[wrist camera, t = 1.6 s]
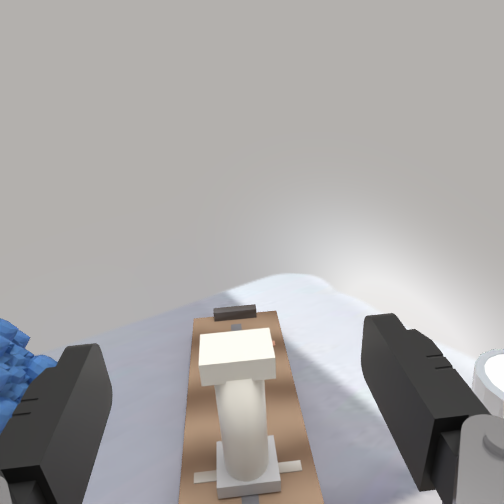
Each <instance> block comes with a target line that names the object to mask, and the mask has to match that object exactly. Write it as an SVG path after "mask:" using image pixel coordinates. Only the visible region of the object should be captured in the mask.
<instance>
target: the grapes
mask: <svg viewBox="0 0 504 504" xmlns="http://www.w3.org/2000/svg"><path fill="white" fill-rule="evenodd" d="M29 339H30V337H29V336H27V335H26V334H24V333H23V332H22V331H20V330H18V328H17V327H15V326H14V325H12V324H11V323H10V322H8V321H6V320H3V319H1V318H0V434H1V432H2V431H3V429H4V427H5V426H6V424H7V422H8V420H9V419H10V418H12V414H13V412H14V410H15V408H16V407H17V405H18V404H19V403H20V402H21V398H22V397H23V395H24V393H25V391H26V390H27V388H28V386H29V385H30V383H31V382H32V381H33V380H34V379H35V378H36V377H37V376H39V375H40V374H41V373H42V372H43V371H44V370H45V369H46V368H49V367H56V365H57V363H58V362H56V361H55V360H54V359H52V358H51V357H48V356H45V355H38V356H34V354H32V353H31V352H29V351H27V350H26V349H25V347H26V345H27V343H28V341H29Z"/></svg>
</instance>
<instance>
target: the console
mask: <svg viewBox="0 0 504 504" xmlns="http://www.w3.org/2000/svg"><path fill="white" fill-rule="evenodd" d="M260 328H269V329H270V334H271V339H272V344H273V349H274V354H275V362H276V379H266V380H264V382H265V400H266V418H267V436H270V435H274V442H275V448H276V454H277V461H278V467H279V473H280V480H281V491H279V492H271V493H263V494H254V495H246V496H238V497H230V498H222V499H218V493H217V442H218V441H222V439H221V431H220V424H219V416H218V409H217V402H216V394H215V387H214V385H210V386H202V385H201V378H200V372H199V347H200V334H210V333H220V332H230V331H240V330H250V329H260ZM179 504H324V501H323V497H322V493H321V489H320V485H319V481H318V477H317V473H316V469H315V465H314V461H313V457H312V453H311V449H310V445H309V441H308V437H307V433H306V429H305V425H304V421H303V417H302V413H301V409H300V405H299V401H298V397H297V392H296V388H295V384H294V380H293V376H292V372H291V368H290V364H289V360H288V356H287V352H286V348H285V344H284V340H283V336H282V332H281V328H280V324H279V320H278V316H277V312H276V311H268V312H258V313H256V306H255V305H244V306H234V307H224V308H214V317H207V318H196V319H194V323H193V335H192V347H191V359H190V371H189V383H188V395H187V407H186V419H185V431H184V444H183V456H182V468H181V480H180V492H179Z"/></svg>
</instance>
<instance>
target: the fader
mask: <svg viewBox="0 0 504 504" xmlns="http://www.w3.org/2000/svg"><path fill="white" fill-rule="evenodd" d="M199 372H200V378H201V385H202V386H210V385H214V387H215V394H216V402H217V409H218V416H219V424H220V431H221V439H222V441H218V442H217V493H218V499H222V498H230V497H238V496H246V495H254V494H263V493H271V492H279V491H281V480H280V473H279V467H278V461H277V454H276V448H275V442H274V435H270V436H267V418H266V400H265V382H264V380H266V379H276V362H275V354H274V349H273V344H272V339H271V334H270V329H269V328H260V329H250V330H240V331H230V332H220V333H210V334H200V347H199Z"/></svg>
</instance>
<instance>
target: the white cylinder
mask: <svg viewBox="0 0 504 504" xmlns="http://www.w3.org/2000/svg"><path fill="white" fill-rule="evenodd" d="M472 391H473V392H474V393H475V395H476V396H477V397H478V398H479V400H480V401H481V402H482V403H483V405H484V406H485V407H486V408H487V410H488V411H489V412H490V413H491V414H492V415H494V416H498V417H501V418H504V349H493V350H490V351H488V352H485V353H483V354H481V355H480V356H479V358H478V359H477V361H476V362H475V367H474V375H473V383H472Z"/></svg>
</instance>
